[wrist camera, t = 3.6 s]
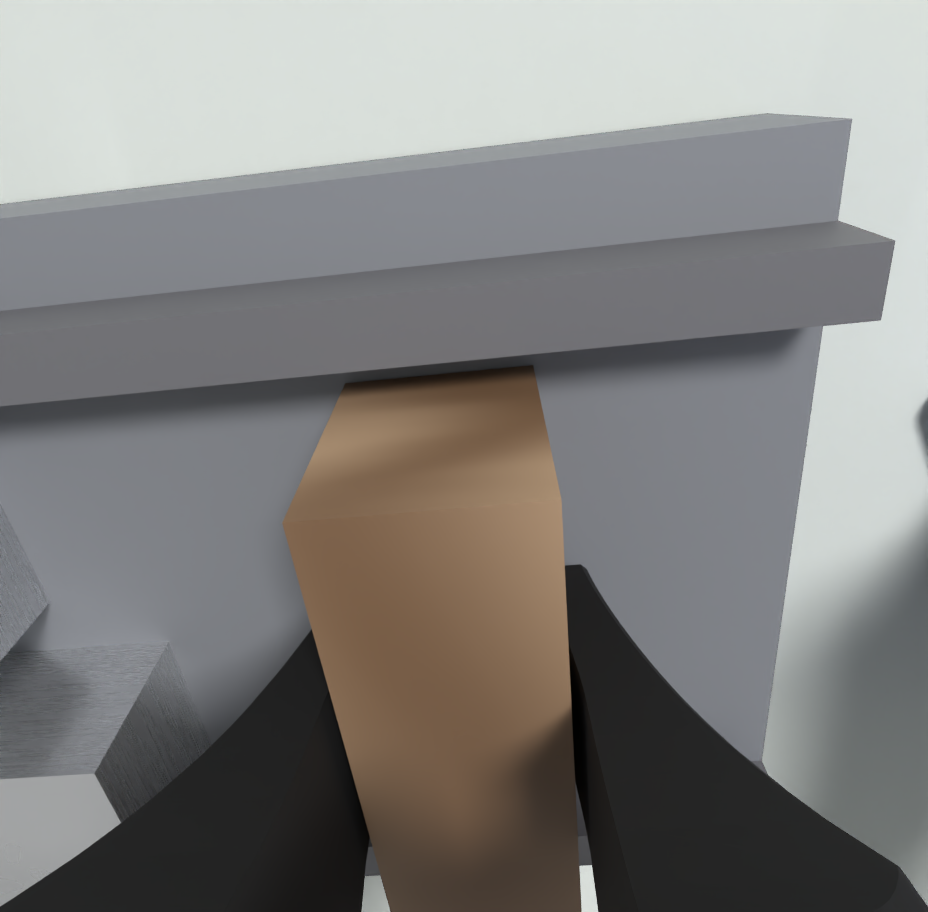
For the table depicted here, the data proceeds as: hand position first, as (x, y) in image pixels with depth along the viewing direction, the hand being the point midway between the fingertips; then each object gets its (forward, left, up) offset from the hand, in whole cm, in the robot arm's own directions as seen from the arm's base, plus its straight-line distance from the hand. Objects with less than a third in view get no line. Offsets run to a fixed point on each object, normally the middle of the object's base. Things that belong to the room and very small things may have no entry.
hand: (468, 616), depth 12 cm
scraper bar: (0, 0, -1) cm, 1 cm away
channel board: (+2, +4, -4) cm, 5 cm away
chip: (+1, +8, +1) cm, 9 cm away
